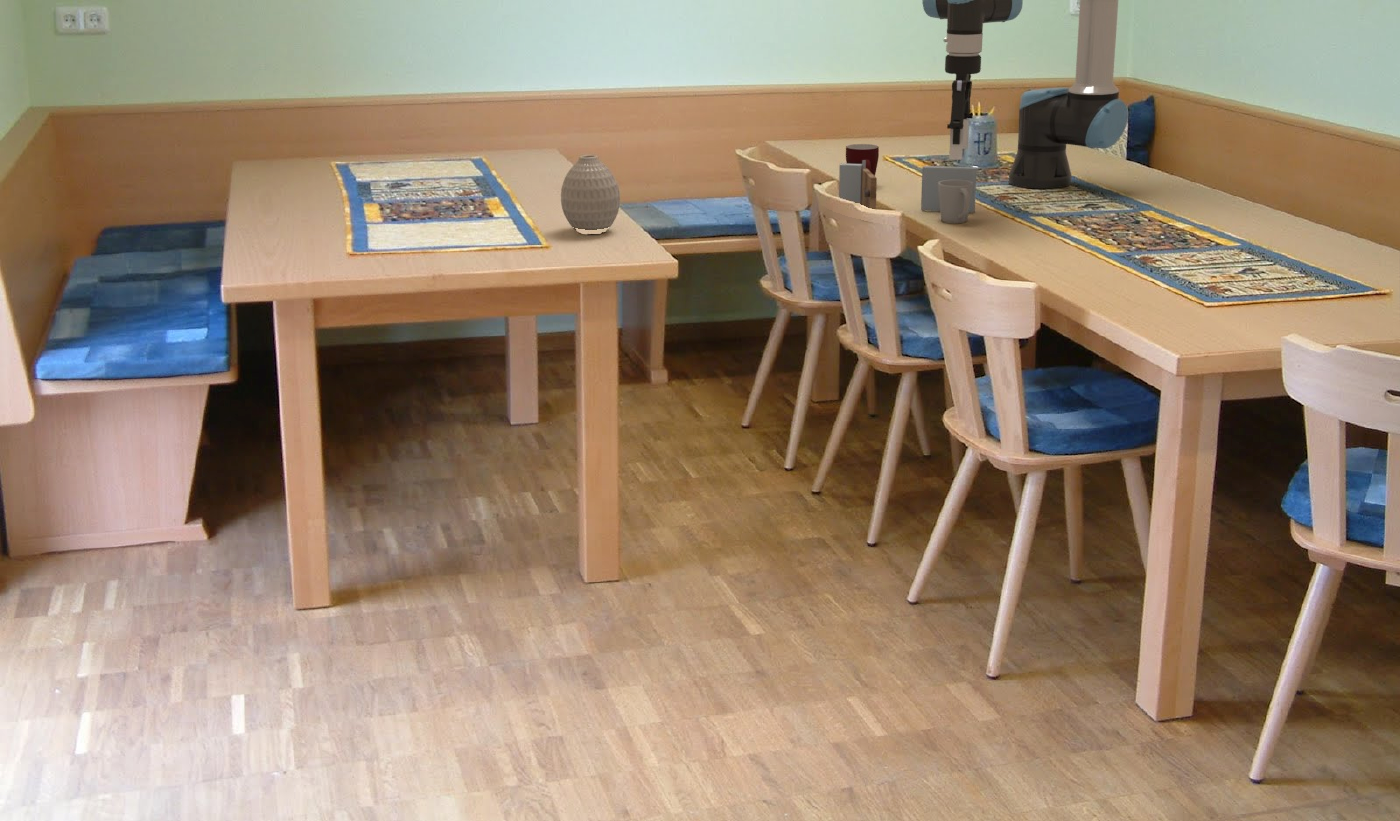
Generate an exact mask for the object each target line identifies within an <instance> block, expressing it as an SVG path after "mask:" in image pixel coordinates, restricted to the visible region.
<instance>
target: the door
mask: <svg viewBox="0 0 1400 821" xmlns="http://www.w3.org/2000/svg"><path fill="white" fill-rule="evenodd" d="M877 182H878V180H877V177H876V175H875V176H874V175H873V174H872V173H871V172H870V171H869V170H868V169H867V168H866V169H862V190H861V205H864V206H866V207H868V208H872V209H876V210H877Z"/></svg>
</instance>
